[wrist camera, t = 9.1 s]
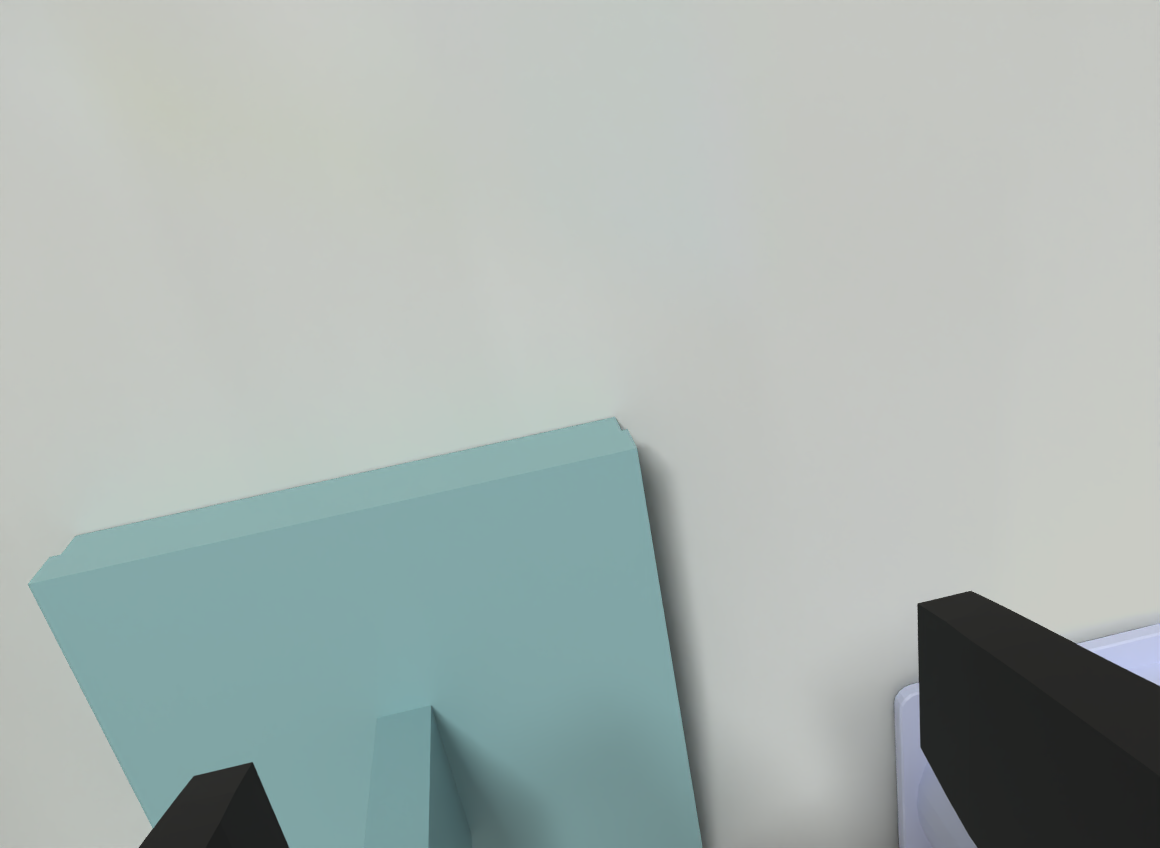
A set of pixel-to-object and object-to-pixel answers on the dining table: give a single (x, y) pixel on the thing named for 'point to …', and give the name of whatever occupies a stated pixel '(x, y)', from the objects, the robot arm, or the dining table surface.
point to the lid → (399, 651)
